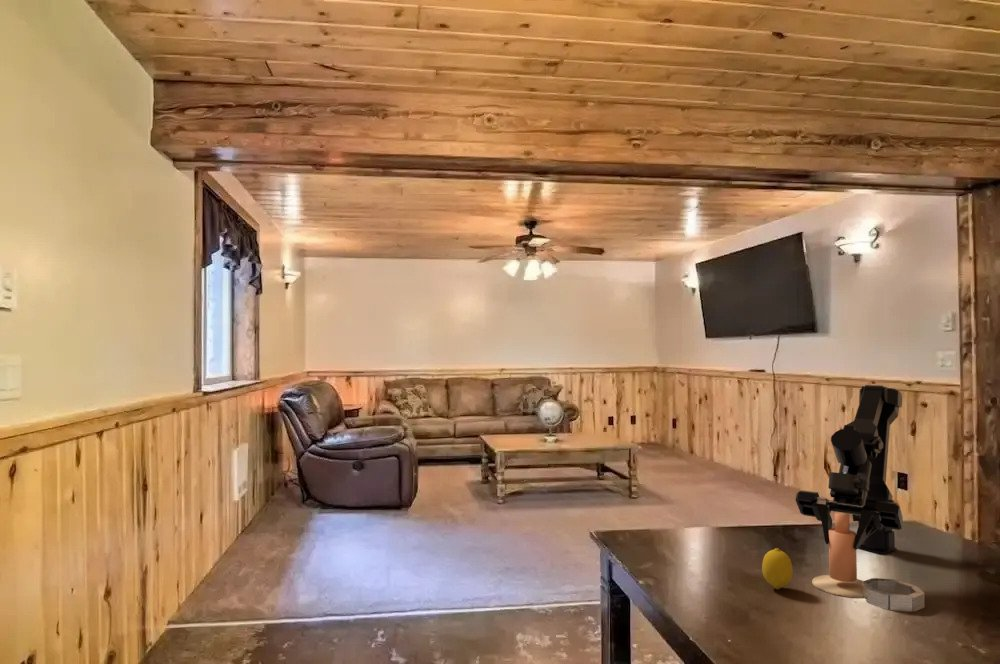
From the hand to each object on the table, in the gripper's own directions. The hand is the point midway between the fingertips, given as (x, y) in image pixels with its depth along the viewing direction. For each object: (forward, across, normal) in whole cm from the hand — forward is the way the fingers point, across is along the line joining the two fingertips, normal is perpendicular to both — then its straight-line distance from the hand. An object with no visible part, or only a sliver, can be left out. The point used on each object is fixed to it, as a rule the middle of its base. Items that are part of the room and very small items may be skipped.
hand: (840, 545), depth 129 cm
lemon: (+12, -10, 0) cm, 15 cm away
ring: (+6, +9, +5) cm, 12 cm away
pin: (+4, 0, +6) cm, 7 cm away
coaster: (+5, 0, +7) cm, 8 cm away
